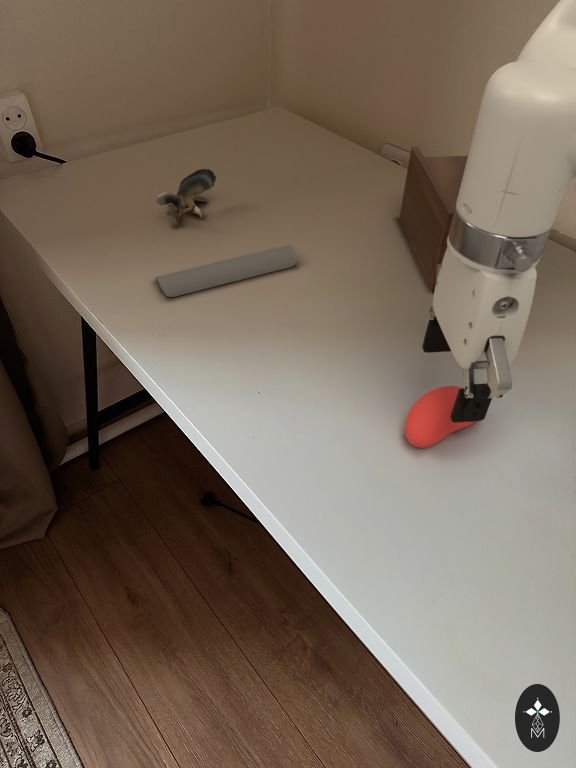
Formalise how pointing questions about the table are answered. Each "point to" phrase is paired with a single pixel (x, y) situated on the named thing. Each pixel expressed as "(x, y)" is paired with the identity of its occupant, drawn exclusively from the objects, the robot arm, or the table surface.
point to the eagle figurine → (188, 194)
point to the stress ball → (432, 417)
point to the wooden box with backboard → (430, 206)
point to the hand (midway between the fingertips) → (450, 383)
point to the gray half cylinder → (227, 271)
